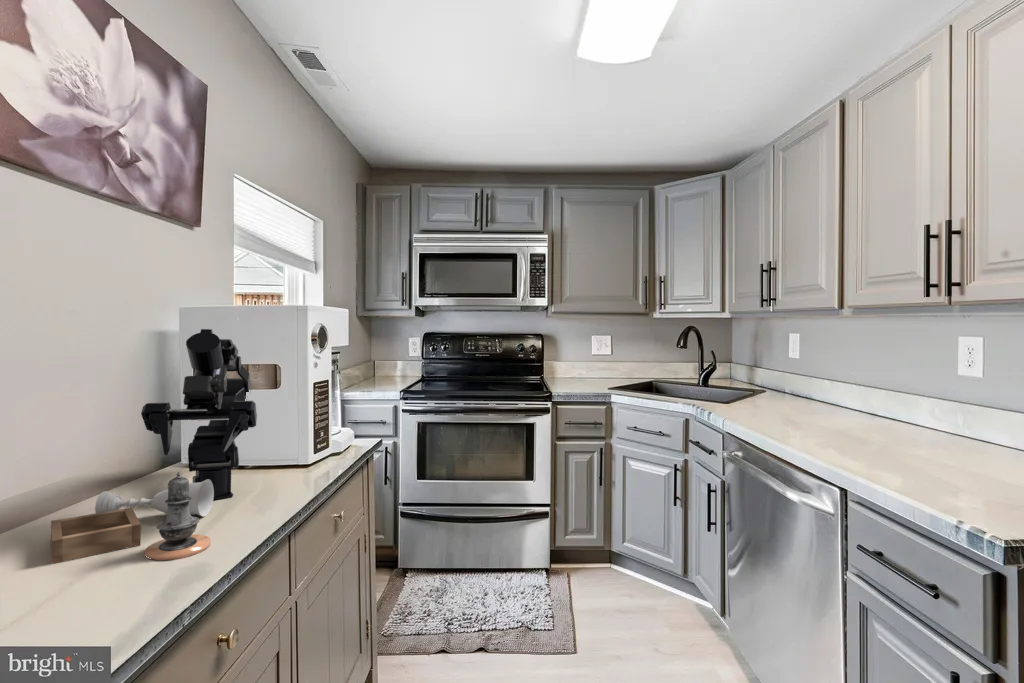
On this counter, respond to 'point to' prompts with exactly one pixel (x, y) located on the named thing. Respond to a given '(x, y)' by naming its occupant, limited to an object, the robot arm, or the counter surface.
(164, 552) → the terracotta coaster
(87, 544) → the walnut collar
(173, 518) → the pewter pepper pot
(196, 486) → the chalice
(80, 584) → the counter surface
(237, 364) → the robot arm
